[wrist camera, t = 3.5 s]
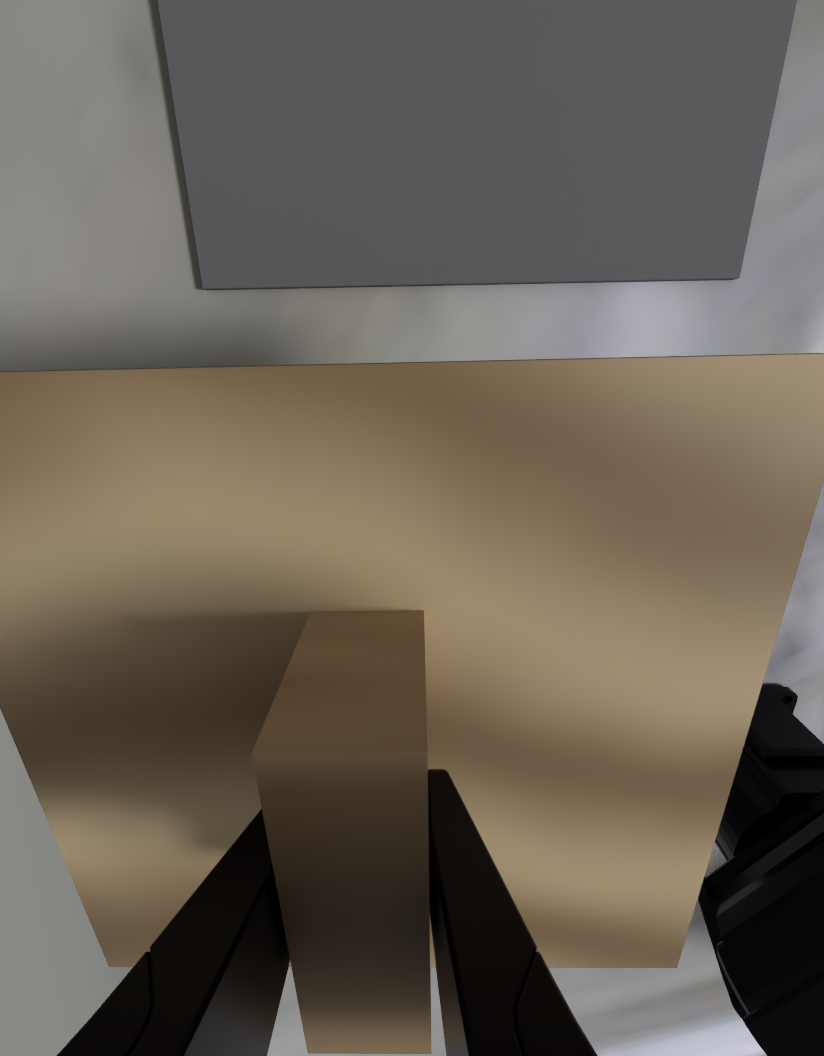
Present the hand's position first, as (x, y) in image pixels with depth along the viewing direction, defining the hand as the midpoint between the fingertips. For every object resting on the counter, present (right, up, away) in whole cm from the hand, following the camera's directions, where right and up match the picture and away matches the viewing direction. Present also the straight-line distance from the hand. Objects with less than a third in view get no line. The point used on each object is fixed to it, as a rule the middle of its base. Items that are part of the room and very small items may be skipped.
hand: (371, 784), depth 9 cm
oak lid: (0, +1, +2) cm, 2 cm away
